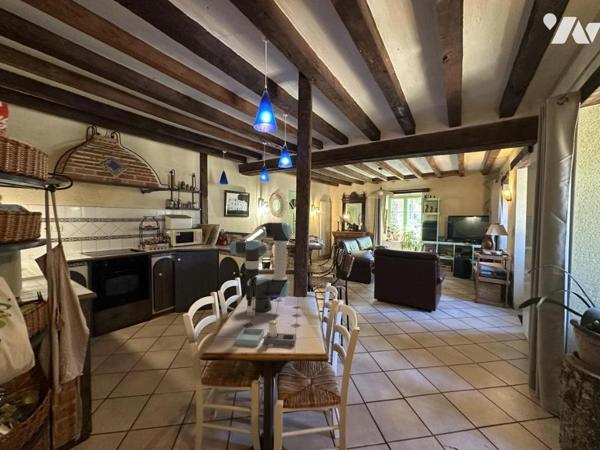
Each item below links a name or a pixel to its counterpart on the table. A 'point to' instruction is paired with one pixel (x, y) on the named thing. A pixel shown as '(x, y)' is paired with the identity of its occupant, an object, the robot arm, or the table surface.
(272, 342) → the fuse block
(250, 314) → the fuse
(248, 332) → the parts tray
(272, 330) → the fuse
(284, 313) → the table surface
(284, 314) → the table surface
